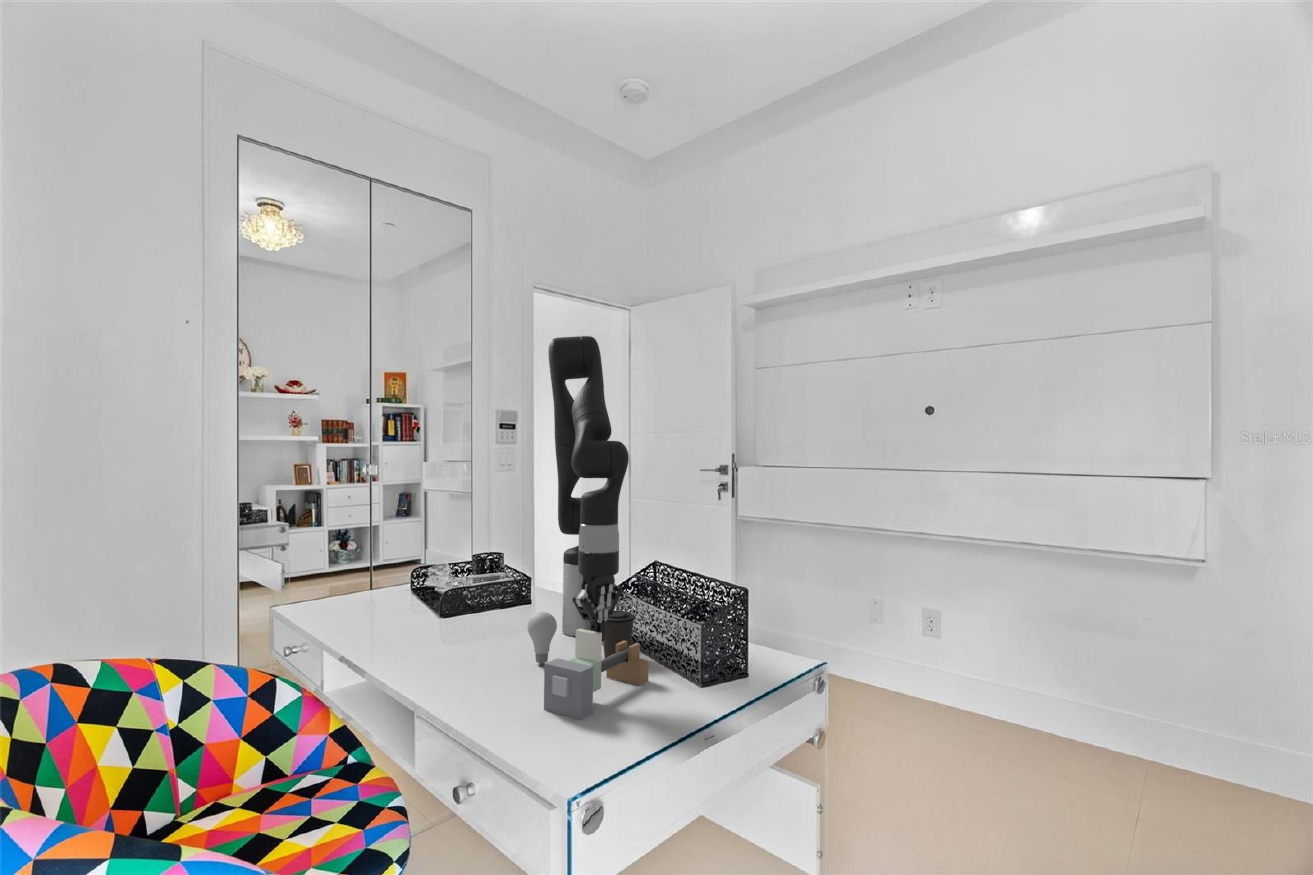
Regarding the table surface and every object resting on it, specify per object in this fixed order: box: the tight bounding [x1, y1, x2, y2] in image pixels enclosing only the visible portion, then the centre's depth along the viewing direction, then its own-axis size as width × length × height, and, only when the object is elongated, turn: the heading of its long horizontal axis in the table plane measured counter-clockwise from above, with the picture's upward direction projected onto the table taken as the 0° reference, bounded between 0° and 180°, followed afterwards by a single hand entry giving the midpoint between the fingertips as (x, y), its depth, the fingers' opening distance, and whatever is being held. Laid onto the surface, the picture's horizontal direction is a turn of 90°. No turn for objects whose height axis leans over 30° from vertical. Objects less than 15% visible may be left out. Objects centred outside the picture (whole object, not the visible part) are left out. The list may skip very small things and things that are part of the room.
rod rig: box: [543, 641, 650, 720], centre depth 123 cm, size 23×8×8 cm, turn 149°
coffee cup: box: [602, 610, 637, 659], centre depth 144 cm, size 8×8×10 cm
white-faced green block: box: [567, 629, 603, 693], centre depth 119 cm, size 4×5×10 cm
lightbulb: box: [527, 611, 558, 665], centre depth 140 cm, size 6×6×11 cm
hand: (597, 641), depth 123 cm, fingers closed
